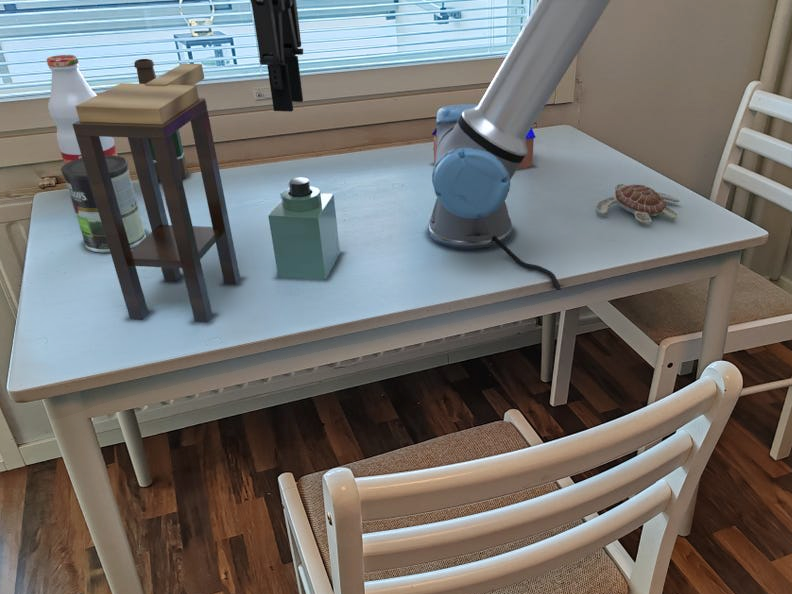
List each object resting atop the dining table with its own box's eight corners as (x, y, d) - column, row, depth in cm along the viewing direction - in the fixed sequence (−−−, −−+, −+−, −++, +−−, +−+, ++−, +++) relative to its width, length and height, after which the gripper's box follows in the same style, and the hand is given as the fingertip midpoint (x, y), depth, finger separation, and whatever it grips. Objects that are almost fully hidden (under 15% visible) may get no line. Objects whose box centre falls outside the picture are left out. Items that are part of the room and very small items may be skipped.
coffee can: (99, 258, 127) (74, 179, 119) (76, 240, 133) (51, 164, 125) (156, 241, 133) (137, 165, 125) (132, 224, 139) (112, 150, 131)
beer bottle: (176, 184, 157) (149, 65, 143) (143, 181, 158) (113, 63, 144) (195, 172, 163) (171, 57, 150) (163, 169, 164) (136, 55, 151)
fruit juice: (134, 196, 151) (95, 50, 135) (125, 214, 143) (83, 62, 127) (85, 199, 149) (40, 52, 134) (73, 218, 142) (24, 64, 126)
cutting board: (162, 124, 95) (158, 107, 93) (79, 121, 95) (74, 104, 94) (229, 79, 114) (227, 64, 113) (160, 77, 115) (157, 62, 114)
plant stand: (207, 322, 110) (162, 127, 94) (129, 318, 111) (71, 124, 94) (240, 279, 121) (205, 98, 105) (169, 275, 122) (124, 95, 106)
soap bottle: (325, 280, 121) (316, 205, 114) (278, 277, 122) (266, 203, 115) (340, 253, 130) (332, 182, 122) (295, 251, 130) (285, 180, 123)
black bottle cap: (307, 199, 117) (305, 184, 116) (288, 198, 118) (285, 184, 116) (313, 191, 120) (311, 177, 119) (293, 190, 120) (291, 176, 119)
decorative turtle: (653, 190, 156) (656, 167, 153) (701, 220, 143) (705, 195, 141) (577, 202, 150) (579, 179, 147) (620, 234, 137) (623, 209, 135)
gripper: (258, -79, 105) (281, 90, 118) (212, -70, 91) (244, 121, 104) (310, -78, 105) (327, 91, 118) (271, -69, 90) (296, 123, 103)
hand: (288, 105), depth 111 cm, fingers open, 4 cm apart
